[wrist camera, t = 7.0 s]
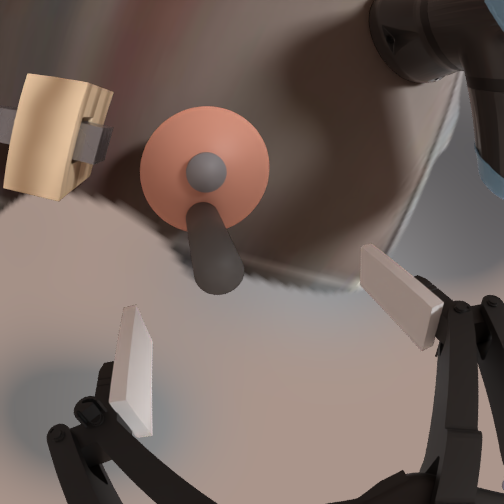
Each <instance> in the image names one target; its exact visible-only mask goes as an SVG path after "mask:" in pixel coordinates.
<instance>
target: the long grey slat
mask: <svg viewBox="0 0 504 504" xmlns="http://www.w3.org/2000/svg"><path fill="white" fill-rule="evenodd" d="M17 109H18V108H15V107H9V106H2V105H0V142H1V143H5V144H10V140H11V135H12V130H13V126H14V121H15V117H16V113H17ZM112 131H113V127H110V126H105V125H101V124H97V123H92V122H88V121H83V120H82V121H81V125H80V129H79V132H78V136H77V140H76V144H75V148H74V153H73V157H72V159H73V160H77V161H81V162H85V163H89V164H92V165H94V164H96V163H99V162H101V161H104V160H105V156H106V152H107V148H108V145H109V141H110V138H111V134H112Z"/></svg>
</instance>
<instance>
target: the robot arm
mask: <svg viewBox="0 0 504 504" xmlns="http://www.w3.org/2000/svg"><path fill="white" fill-rule="evenodd" d="M369 24H370V31H371V35H372V38H373V41H374V44H375V46H376V48H377V50H378V52H379V54H380V55H381V57H382V58H383V60H384V61H385V62H386V64H387V65H388V66H389V67H390V68H391V69H392V70H393V71H394V72H395V73H397V74H398V75H399V76H401V77H402V78H404V79H406V80H409V81H412V82H422V83H429V82H435V81H438V80H440V79H442V78H443V77H444V76H445V75H450V74H452V73H455V72H457V71H464V72H465V76H466V80H467V86H468V92H469V98H470V104H471V110H472V117H473V124H474V133H475V152H476V154H477V161H478V170H479V174H480V177H481V179H482V181H483V182H484V184H485V185H486V186H487V187H488V189H489V190H490V191H492V192H493V193H494V194H495V195H497V196H498V197H500V198H501V199H503V200H504V0H375V1H374V2H373V4H372V6H371V10H370V15H369ZM360 285H361V286H362V288H363V289H364V290H365V291H366V292H367V293H368V294H369V295H370V296H371V297H372V298H373V299H374V300H375V301H376V302H377V303H378V304H379V305H380V306H381V307H382V309H383V310H384V311H385V312H386V313H387V314H388V315H389V316H390V317H391V318H392V319H393V320H394V321H395V322H396V324H397V325H398V326H399V327H400V328H401V329H402V330H403V331H404V332H405V333H406V335H407V336H408V337H409V338H410V339H411V340H412V341H413V342H414V343H415V344H416V346H417V347H418V348H419V349H420V350H421V351H423V350H425V349H427V348H429V347H431V346H433V344H434V340H435V337H436V338H437V339H438V340H439V341H440V342H439V345H438V349H437V352H436V355H435V356H436V357H437V355H438V361H437V375H436V386H435V396H434V404H433V413H432V419H431V426H430V432H429V438H428V443H427V449H426V454H425V458H424V461H423V464H422V466H421V469H420V472H419V473H409V474H405V472H404V471H403V470H402V471H400V472H398V473H396V474H394V475H392V476H390V477H388V478H386V479H384V480H382V481H380V482H379V483H377V484H376V485H375V486H374V487H372V488H371V489H370V490H368V491H367V492H366V493H364V494H363V495H362V496H360V497H359V498H357V499H353V500H347V501H341V502H334V503H328V504H504V493H499V492H495V491H490V490H486V489H482V488H478V487H477V484H478V477H479V470H480V461H481V450H482V432H481V431H478V427H477V426H478V365H479V369H480V372H481V375H482V378H483V382H484V385H485V388H486V392H487V395H488V399H489V403H490V407H491V411H492V414H493V419H494V423H495V428H496V432H497V437H498V442H499V448H500V453H501V457H502V461H503V464H504V303H503V301H502V300H501V299H500V298H498V297H497V296H493V295H487V296H485V297H483V300H482V303H481V304H480V305H475V306H470V305H469V304H468V303H466V302H464V301H453V300H451V299H450V298H449V297H448V296H446V295H445V294H444V293H443V292H442V291H440V290H439V289H437V287H436V286H434V285H432V283H431V282H429V281H428V280H427V279H425V278H423V277H421V276H418V275H417V276H414V277H413V276H412V275H411V274H410V273H408V272H407V271H406V270H405V269H403V268H402V267H401V266H400V265H398V264H397V263H396V262H394V261H393V260H392V259H391V258H390V257H388V256H387V255H386V254H385V253H383V252H382V251H381V250H379V249H378V248H377V247H376V246H374V245H373V244H372V243H371V244H368V245H364V246H361V275H360ZM152 353H153V341H152V339H151V336H150V334H149V332H148V330H147V328H146V325H145V323H144V321H143V319H142V317H141V314H140V312H139V310H138V307H137V305H132V306H128V307H124V309H123V314H122V319H121V325H120V330H119V335H118V342H117V347H116V353H115V359H114V361H112V362H107V363H104V364H103V366H102V367H101V369H100V371H99V375H98V381H97V388H96V393H95V397H94V396H88V397H84V398H83V399H81V400H80V401H79V402H78V403H77V404H76V406H75V408H74V415H75V417H76V418H77V420H79V422H80V423H81V424H80V425H78V426H76V427H73V428H69V427H68V426H66V425H64V424H57V425H55V426H53V427H52V428H51V429H50V430H49V432H48V434H47V443H48V446H49V450H50V453H51V457H52V460H53V463H54V467H55V470H56V473H57V476H58V479H59V481H60V484H61V487H62V490H63V492H64V495H65V498H66V500H67V503H68V504H123V503H122V502H121V500H120V498H119V496H118V494H117V492H116V491H115V489H114V487H113V485H112V483H111V481H110V479H109V477H108V475H107V473H106V471H105V469H104V467H103V465H102V463H104V462H107V461H110V460H113V461H114V462H115V463H116V464H117V465H118V466H119V467H120V468H121V469H122V471H123V472H124V473H125V474H126V475H127V476H128V477H129V478H130V479H131V480H132V481H133V482H134V483H135V484H136V485H137V486H138V487H139V488H140V489H141V490H143V491H144V492H145V493H146V494H147V495H148V496H149V497H150V498H151V499H152V500H153V501H154V502H156V503H157V504H217V503H216V502H214V501H213V500H211V499H210V498H208V497H207V496H205V495H204V494H203V493H201V492H200V491H198V490H197V489H196V488H194V487H193V486H192V485H190V484H189V483H188V482H186V481H185V480H184V479H182V478H181V477H180V476H178V475H177V474H176V473H175V472H174V471H172V470H171V469H170V468H169V467H167V466H166V465H165V464H164V463H163V462H162V461H160V460H159V459H157V457H156V456H154V455H153V454H152V453H151V452H150V451H149V450H147V449H146V448H145V447H144V446H143V445H142V444H141V443H140V442H139V441H138V440H137V439H136V438H134V437H133V436H132V432H133V433H134V434H135V436H136V437H138V438H139V437H147V436H153V433H152V431H153V428H152V356H153V355H152ZM477 362H478V363H477ZM502 488H503V490H504V481H503V483H502Z"/></svg>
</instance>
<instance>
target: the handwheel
mask: <svg viewBox="0 0 504 504" xmlns="http://www.w3.org/2000/svg"><path fill="white" fill-rule="evenodd" d="M268 178H269V157H268V153H267V149H266V146H265V143H264V141H263V139H262V138H261V136H260V134H259V133H258V131H257V130H256V129H255V128H254V127H253V126H252V124H251V123H249V122H248V121H247V120H246V119H245V118H243V117H242V116H240V115H238V114H237V113H234V112H232V111H230V110H227V109H223V108H219V107H212V106H202V107H195V108H191V109H187V110H184V111H182V112H179V113H177V114H175V115H173V116H172V117H170V118H168V119H167V120H166V121H165V122H163V123H162V124H161V125H160V126H159V127H158V128H157V129H156V130H155V132H154V133H153V134H152V136H151V137H150V139H149V140H148V142H147V144H146V146H145V149H144V151H143V155H142V159H141V165H140V180H141V185H142V189H143V192H144V195H145V197H146V199H147V201H148V203H149V205H150V206H151V208H152V209H153V210H154V211H155V213H156V214H157V215H158V216H159V217H160V218H162V219H163V220H164V221H165V222H167V223H169V224H170V225H172V226H174V227H176V228H178V229H181V230H184V231H187V232H188V239H189V246H190V252H191V259H192V265H193V271H194V277H195V281H196V283H197V285H198V286H199V287H200V288H201V289H202V290H203V291H205V292H207V293H209V294H214V295H221V294H226V293H228V292H231V291H232V290H234V289H235V288H236V287H237V286H238V285H239V284H240V283H241V281H242V279H243V276H244V266H243V263H242V261H241V259H240V256H239V254H238V252H237V250H236V248H235V246H234V244H233V242H232V240H231V238H230V236H229V233H228V231H227V228H229V227H231V226H233V225H235V224H237V223H238V222H240V221H241V220H243V219H244V218H245V217H247V216H248V215H249V214H250V213H251V212H252V211H253V210H254V208H255V207H256V206H257V204H258V203H259V201H260V200H261V198H262V196H263V194H264V192H265V189H266V186H267V183H268Z"/></svg>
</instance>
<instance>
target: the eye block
mask: <svg viewBox="0 0 504 504" xmlns="http://www.w3.org/2000/svg"><path fill="white" fill-rule="evenodd" d="M113 93H114V92H111V91H109V90H106V89H104V88H101V87H98V86H96V85H93V84H90V83H87V82H81V81H76V80H70V79H64V78H57V77H50V76H43V75H35V74H27V77H26V80H25V84H24V87H23V90H22V94H21V97H20V101H19V105H18V109H17V113H16V117H15V121H14V126H13V130H12V135H11V140H10V146H9V151H8V157H7V164H6V170H5V178H4V187H3V188H6V189H10V190H14V191H18V192H22V193H26V194H30V195H34V196H38V197H43V198H47V199H51V200H55V201H60V200H61V199H62V198H64V197H65V196H66V195H67V194H68V193H70V192H71V191H72V190H73V189H74V188H76V187H77V186H78V185H79V184H81V183H82V182H83V181H84V180H86V179H87V178H88V177H89V176H90V174H91V170H92V166H93V165H92V164H89V163H85V162H81V161H77V160H73V159H72V157H73V153H74V148H75V144H76V140H77V136H78V132H79V129H80V125H81V121H82V120H83V121H88V122H92V123H97V124H101V125H103V124H104V121H105V118H106V114H107V111H108V108H109V105H110V102H111V99H112V96H113Z"/></svg>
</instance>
